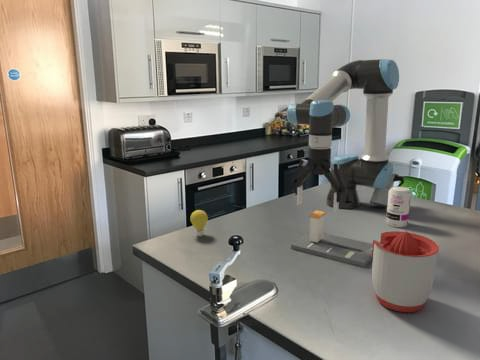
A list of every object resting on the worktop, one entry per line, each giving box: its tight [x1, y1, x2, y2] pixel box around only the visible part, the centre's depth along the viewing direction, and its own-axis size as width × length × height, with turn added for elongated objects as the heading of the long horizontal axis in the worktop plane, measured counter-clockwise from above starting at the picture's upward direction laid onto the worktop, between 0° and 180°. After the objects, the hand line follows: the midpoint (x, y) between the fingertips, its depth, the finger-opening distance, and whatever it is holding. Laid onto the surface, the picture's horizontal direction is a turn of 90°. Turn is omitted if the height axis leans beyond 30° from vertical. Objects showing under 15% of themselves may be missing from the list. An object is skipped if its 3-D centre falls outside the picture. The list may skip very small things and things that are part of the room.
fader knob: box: [309, 210, 326, 243], centre depth 141 cm, size 5×3×10 cm, turn 145°
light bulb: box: [189, 209, 209, 237], centre depth 151 cm, size 7×7×10 cm
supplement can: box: [385, 185, 412, 229], centre depth 158 cm, size 8×8×15 cm
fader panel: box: [290, 230, 373, 268], centre depth 138 cm, size 16×26×2 cm, turn 55°
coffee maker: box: [369, 173, 405, 207], centre depth 180 cm, size 15×9×18 cm, turn 72°
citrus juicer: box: [366, 230, 440, 314], centre depth 104 cm, size 16×17×20 cm
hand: (317, 207), depth 138 cm, fingers open, 13 cm apart
